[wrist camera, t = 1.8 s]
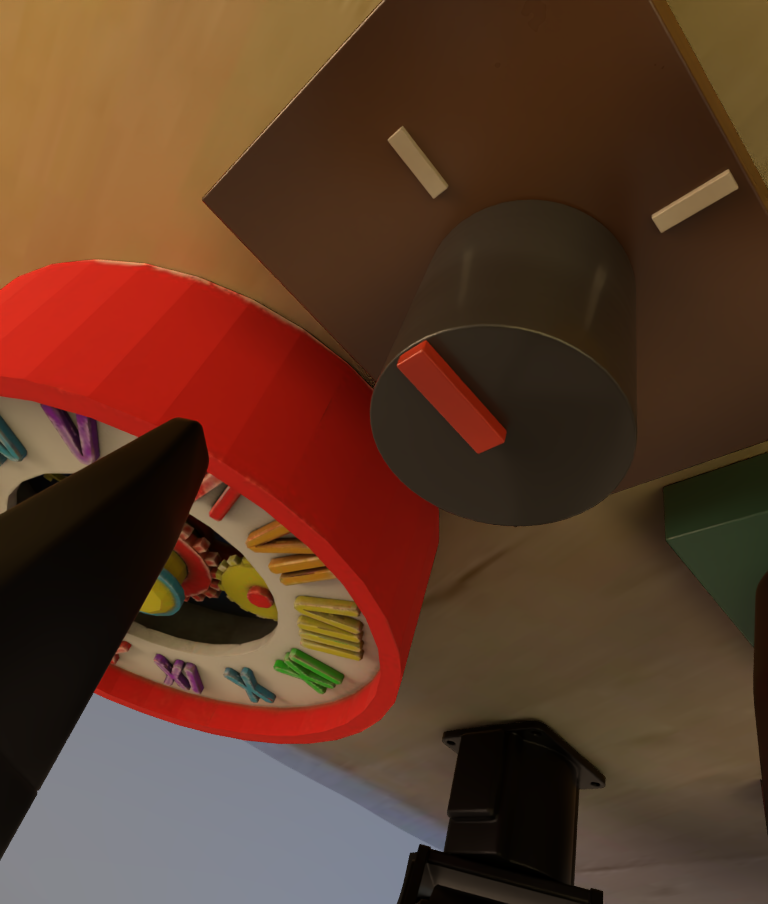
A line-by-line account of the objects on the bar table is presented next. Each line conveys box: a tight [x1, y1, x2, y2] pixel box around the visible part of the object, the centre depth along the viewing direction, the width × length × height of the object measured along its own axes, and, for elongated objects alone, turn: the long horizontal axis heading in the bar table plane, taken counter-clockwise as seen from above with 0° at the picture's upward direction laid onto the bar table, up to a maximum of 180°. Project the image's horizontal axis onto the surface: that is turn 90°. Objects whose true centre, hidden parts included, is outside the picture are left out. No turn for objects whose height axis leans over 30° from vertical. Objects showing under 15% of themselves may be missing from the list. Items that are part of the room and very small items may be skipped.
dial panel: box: [202, 0, 768, 527], centre depth 15 cm, size 12×9×3 cm
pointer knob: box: [370, 200, 637, 526], centre depth 12 cm, size 4×4×5 cm
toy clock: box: [0, 259, 439, 744], centre depth 25 cm, size 20×6×20 cm
